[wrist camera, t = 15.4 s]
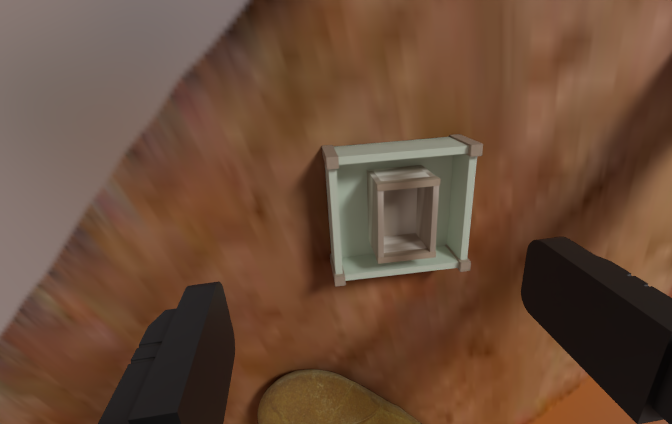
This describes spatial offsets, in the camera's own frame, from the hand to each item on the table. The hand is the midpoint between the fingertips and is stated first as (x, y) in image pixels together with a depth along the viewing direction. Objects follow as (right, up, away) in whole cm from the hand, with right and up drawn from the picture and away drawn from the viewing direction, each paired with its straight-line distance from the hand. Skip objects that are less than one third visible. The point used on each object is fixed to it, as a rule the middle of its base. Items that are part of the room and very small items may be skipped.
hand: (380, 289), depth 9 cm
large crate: (+6, +3, +34) cm, 35 cm away
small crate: (+6, +3, +33) cm, 34 cm away
